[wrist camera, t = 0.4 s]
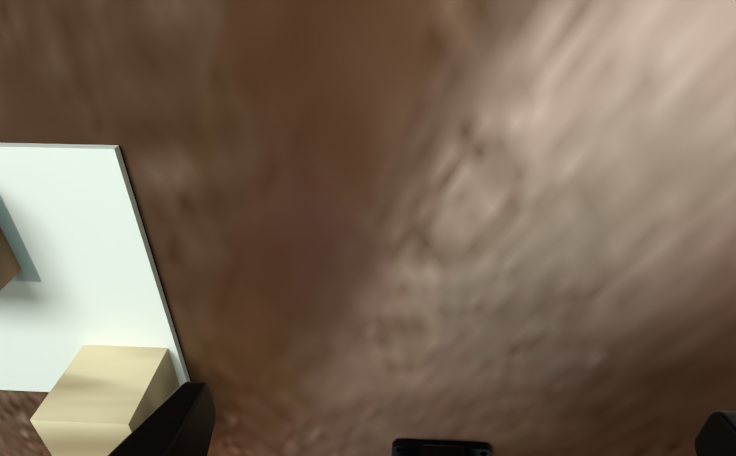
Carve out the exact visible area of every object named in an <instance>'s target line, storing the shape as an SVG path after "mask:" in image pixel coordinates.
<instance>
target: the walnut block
mask: <svg viewBox="0 0 736 456" xmlns="http://www.w3.org/2000/svg"><path fill="white" fill-rule="evenodd" d="M21 270H22V269H21V267H20V265H19V263H18V261H17V259H16V257H15V255H14V253H13V251H12V249H11V247H10V245H9V243H8V241H7V239H6V237H5V235H4V233H3V231H2V229H1V227H0V290H2V289H3V288H4V287H5V286H6V285H7V284H8V283H9V282H10V281H11V280H12V279H13V278H14V277H15V276H16V275H17V274H18V273H19V272H20V271H21Z"/></svg>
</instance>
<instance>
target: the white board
mask: <svg viewBox="0 0 736 456" xmlns="http://www.w3.org/2000/svg"><path fill="white" fill-rule="evenodd" d="M0 227H1V229H2V231H3V233H4V235H5V237H6V239H7V241H8V243H9V245H10V247H11V249H12V251H13V253H14V255H15V257H16V259H17V261H18V263H19V265H20V267H21V269H22V270H21V271H20V272H19V273H18V274H17V275H16V276H15V277H14V278H13V279H12V280H11V281H10V282H9V283H8V284H7V285H6V286H5V287H4V288H3V289H2V290H0V390H18V391H41V392H50V391H51V390H52V388H53V387H54V386H55V384H56V383H57V381H58V380H59V379H60V377H61V376H62V374H63V373H64V372H65V370H66V369H67V367H68V366H69V364H70V363H71V362H72V360H73V359H74V357H75V356H76V355H77V353H78V352H79V350H80V349H81V348H82V346H83V345H106V346H132V347H158V348H168V350H169V353H170V356H171V359H172V362H173V366H174V369H175V372H176V375H177V378H178V381H179V384H180V386H181V385H182V384H183V383H185V382H188V381H190V378H189V375H188V372H187V368H186V365H185V362H184V358H183V355H182V352H181V349H180V345H179V342H178V339H177V335H176V332H175V329H174V326H173V322H172V319H171V316H170V313H169V309H168V306H167V303H166V299H165V296H164V293H163V290H162V286H161V283H160V280H159V276H158V273H157V270H156V267H155V263H154V260H153V257H152V253H151V250H150V247H149V244H148V240H147V237H146V234H145V231H144V227H143V224H142V221H141V217H140V214H139V211H138V208H137V204H136V201H135V198H134V194H133V191H132V188H131V185H130V181H129V178H128V175H127V171H126V168H125V165H124V162H123V158H122V155H121V152H120V148H119V145H81V144H35V143H0Z"/></svg>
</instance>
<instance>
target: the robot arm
mask: <svg viewBox="0 0 736 456" xmlns="http://www.w3.org/2000/svg"><path fill="white" fill-rule="evenodd" d="M215 416H216V412H215V407H214V402H213V398H212V394H211V390H210V386H209V385H208V384H207V383H206V382H193V381H188V382H185V383H183V384H182V385H181V386H180V387H179V388H178V389H177V390H175V391H174V392H173V393H172V394H171V395H170V396H169V397H168V398H167V399H166V400H165V401H164V402H163V403H162V404H161V405H160V406H159V407H158V408H157V409H156V410H155V411H154V412H152V413H151V414H150V415H149V416H148V417H147V418H146V419H145V420H144V421H143V422H142V423H141V424H140V425H139V426H138V427H137V428H136V429H135V430H134V431H133V432H132V433H131V434H130V435H128V436H127V437H126V438H125V439H124V440H123V441H122V442H121V443H120V444H119V445H118V446H117V447H116V448H115V449H114V450H113V451H112V452H111V453H110V454H109V455H108V456H207V454H208V449H209V445H210V441H211V437H212V432H213V428H214V424H215ZM695 450H696V454H697V456H736V411H728V410H715V411H713V412H711V413H710V415H709V416H708V418H707V419H706V421H705V423H704V424H703V426H702V427H701V429H700V431H699V432H698V434H697V436H696V438H695ZM392 456H491V450H490V446H489V445H487V444H479V443H457V442H435V441H413V440H396V441H394V442H393V444H392Z"/></svg>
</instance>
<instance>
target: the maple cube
mask: <svg viewBox="0 0 736 456" xmlns="http://www.w3.org/2000/svg"><path fill="white" fill-rule="evenodd" d="M179 387H180V384H179V381H178V378H177V375H176V372H175V369H174V366H173V362H172V359H171V356H170V353H169V350H168V348H158V347H132V346H106V345H83V346H82V348H81V349H80V350H79V352H78V353H77V355H76V356H75V357H74V359H73V360H72V362H71V363H70V364H69V366H68V367H67V369H66V370H65V372H64V373H63V374H62V376H61V377H60V379H59V380H58V381H57V383H56V384H55V386H54V387H53V388H52V390H51V391H50V393H49V394H48V395H47V397H46V398H45V400H44V401H43V402H42V404H41V405H40V407H39V408H38V409H37V411H36V412H35V414H34V415H33V417H32V418H31V419H30V421H31V422H32V424H33V426H34V427H35V429H36V430H37V432H38V434H39V435H40V437H41V439H42V440H43V442H44V443H45V445H46V447H47V448H48V450H49V451H50V453H51V455H52V456H108V455H109V454H110V453H111V452H112V451H113V450H114V449H115V448H116V447H117V446H118V445H119V444H120V443H121V442H122V441H123V440H124V439H125V438H126V437H127V436H128V435H130V434H131V433H132V432H133V431H134V430H135V429H136V428H137V427H138V426H139V425H140V424H141V423H142V422H143V421H144V420H145V419H146V418H147V417H148V416H149V415H150V414H151V413H152V412H154V411H155V410H156V409H157V408H158V407H159V406H160V405H161V404H162V403H163V402H164V401H165V400H166V399H167V398H168V397H169V396H170V395H171V394H172V393H173V392H174V391H175V390H177V389H178V388H179Z"/></svg>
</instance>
